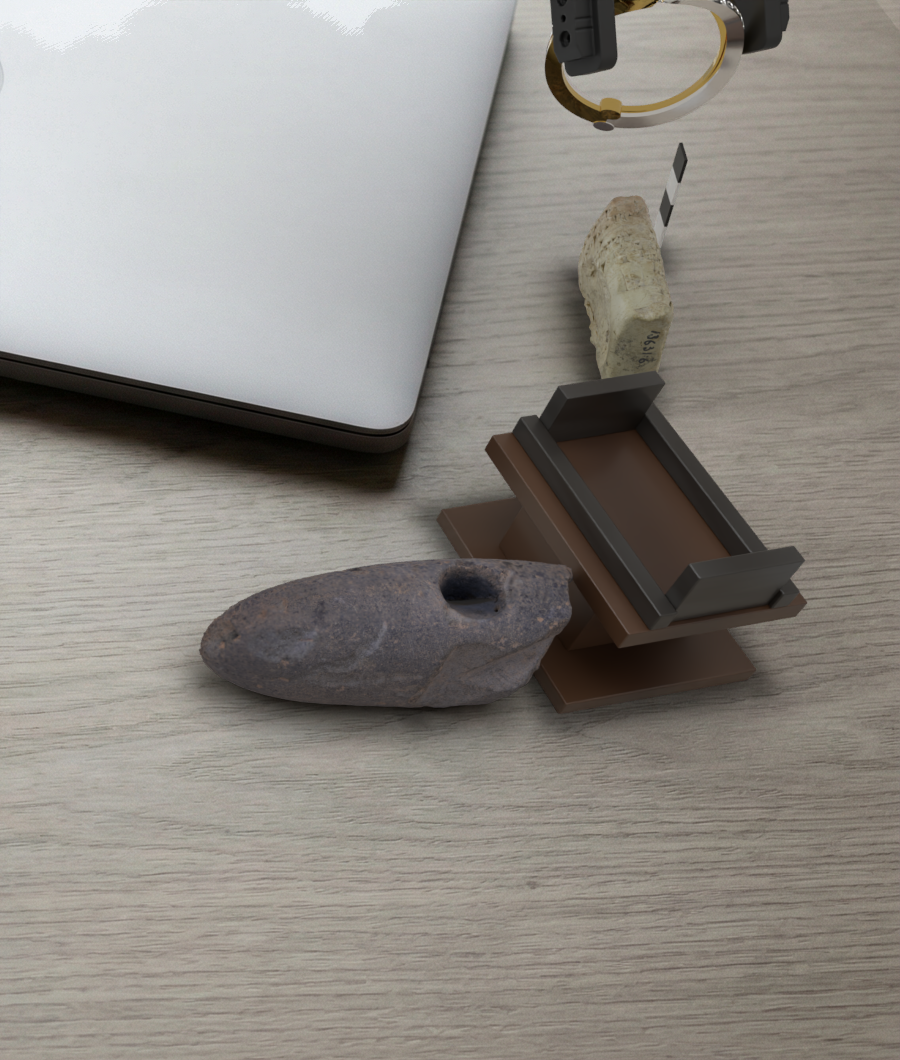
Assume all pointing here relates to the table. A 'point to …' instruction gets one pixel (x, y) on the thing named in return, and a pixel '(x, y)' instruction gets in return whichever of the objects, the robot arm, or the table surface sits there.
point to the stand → (627, 547)
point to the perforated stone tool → (395, 633)
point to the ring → (701, 92)
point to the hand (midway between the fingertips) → (673, 61)
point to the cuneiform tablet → (629, 281)
